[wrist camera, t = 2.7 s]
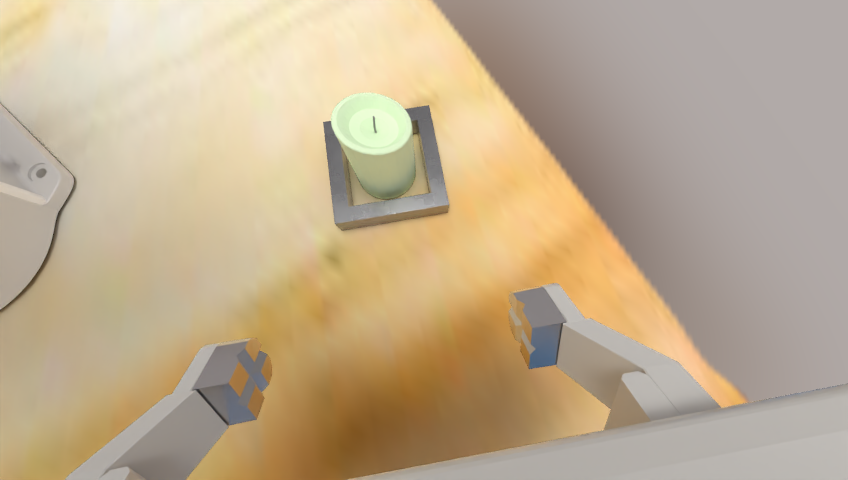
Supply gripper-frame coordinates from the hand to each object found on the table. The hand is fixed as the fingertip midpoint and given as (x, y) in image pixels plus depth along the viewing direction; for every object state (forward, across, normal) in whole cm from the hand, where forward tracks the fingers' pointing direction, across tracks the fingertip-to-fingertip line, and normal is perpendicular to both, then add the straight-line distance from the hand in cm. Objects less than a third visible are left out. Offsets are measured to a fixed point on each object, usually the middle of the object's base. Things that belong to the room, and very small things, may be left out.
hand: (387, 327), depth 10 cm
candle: (+19, 0, +2) cm, 19 cm away
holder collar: (+19, 0, +2) cm, 19 cm away
